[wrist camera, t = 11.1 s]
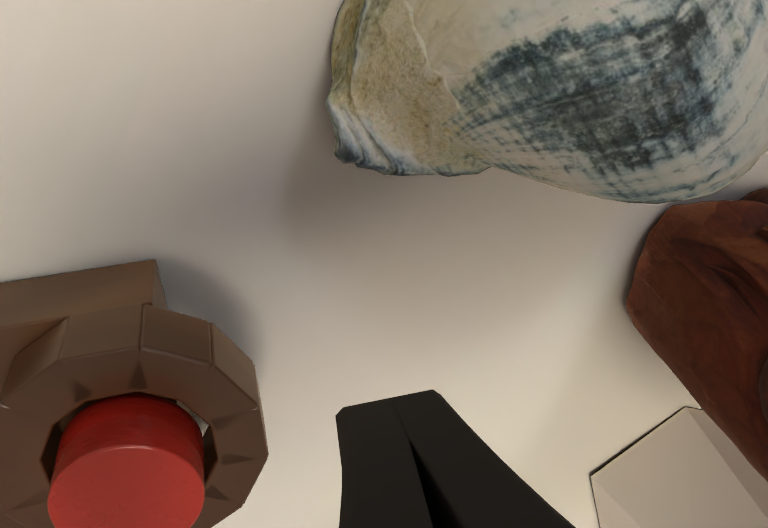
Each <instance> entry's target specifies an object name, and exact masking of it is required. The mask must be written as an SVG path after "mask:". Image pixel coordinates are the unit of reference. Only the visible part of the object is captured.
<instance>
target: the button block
mask: <svg viewBox="0 0 768 528" xmlns="http://www.w3.org/2000/svg"><path fill="white" fill-rule="evenodd" d="M125 394H145V395H152V396H157V397H160V398H164V399H166V400H169V401H171V402H173V403H175V404H177V405H179V406H180V407H182V408H183V409H185V410H186V411H187V412H188V413H189V414H190V415H191V416H192V417H193V413H192V411H193V412H194V413H195V414H196V415H198V416H199V417H200V418H201V419H202V420H203V421H205V422H206V423H207V424H208V425H209V426H208V428H207V430H206V432H205V434H204V436H203V449H204V482H205V500H204V504H203V508H202V510H201V513H200V515H199V516H198V518H197V520H196V521H195V523H194V524H193V525H192V526H191V527H190V528H211V527H213V526H214V525H216V524H217V523H219V522H220V521H222V520H223V519H225V518H226V517H227V516H229V515H230V514H232V513H233V512H235V511H236V510H238V509H239V508H241V507H242V505H243V504H244V503H245V501H246V499H247V497H248V495H249V493H250V491H251V489H252V487H253V485H254V484H255V482H256V480H257V478H258V476H259V474H260V472H261V470H262V468H263V466H264V464H265V462H266V460H267V457H268V455H269V454H268V446H267V439H266V432H265V425H264V418H263V411H262V405H261V399H260V394H259V388H258V383H257V377H256V371H255V366H254V364H253V362H252V360H251V359H250V358H248V357H247V356H246V355H245V354H244V353H243V352H242V351H241V350H240V349H239V348H238V347H237V346H236V345H235V344H234V343H233V342H232V341H231V340H230V339H229V338H228V337H227V336H226V335H225V334H223V333H222V332H221V331H220V330H219V329H218V328H217V327H216V326H215V325H214V324H213V323H209V322H208V321H206V320H202V319H198V318H195V317H191V316H187V315H184V314H180V313H176V312H173V311H169V310H167V306H166V302H165V298H164V294H163V289H162V285H161V281H160V277H159V273H158V269H157V265H156V261H155V260H147V261H140V262H134V263H127V264H121V265H115V266H108V267H102V268H95V269H89V270H82V271H76V272H70V273H63V274H57V275H50V276H44V277H38V278H31V279H25V280H18V281H12V282H6V283H0V528H55V527H54V525H53V523H52V521H51V519H50V516H49V513H48V507H47V500H48V493H49V488H50V484H51V479H52V475H53V470H54V465H55V461H56V456H57V451H58V447H59V442H60V439H61V435H62V433H63V431H64V429H65V428H66V426H67V425H68V423H69V422H70V421H71V420H72V419H73V418H74V417H75V416H76V415H77V414H78V413H79V412H81V411H82V410H83V409H85V408H86V407H88V406H90V405H91V404H93V403H96V402H98V401H100V400H103V399H106V398H109V397H113V396H118V395H125ZM193 418H194V417H193Z"/></svg>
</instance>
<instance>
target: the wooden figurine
mask: <svg viewBox="0 0 768 528" xmlns="http://www.w3.org/2000/svg"><path fill="white" fill-rule="evenodd" d="M626 307H627V310H628V313H629V314H630V316H631V319H632V322H633V324H634V326H635V327H636V329H637V330H638V331H639V332H640V334H641V335H642V336H643V337H644V339H645V340H646V341H647V342H648V343H649V345H650V346H651V347H652V349H653V350H654V351H655V352H656V353H657V355H658V356H659V357H660V358H661V359H662V360H663V361H664V362H665V363H666V364H667V365H668V367H669V368H670V369H671V370H672V372H673V373H674V374H675V375H676V376H677V378H678V379H679V380H680V381H681V382H682V384H683V385H684V386H685V387H686V389H687V390H688V391H689V392H690V394H691V395H692V396H693V397H694V399H695V400H696V401H697V402H698V404H699V405H700V406H701V408H702V409H703V410H704V411H705V413H706V414H707V415H708V416H709V417H710V419H712V420H713V421H714V423H715V424H716V425H717V426H718V427H719V428H720V429H721V430H722V431H723V432H724V433H725V434H726V435H727V437H728V438H729V439H730V440H731V441H732V442H733V443H734V444H735V446H736V447H737V448H738V449H739V451H740V452H741V453H742V454H743V456H744V457H745V458H746V459H747V461H748V462H749V463H750V464H751V465H752V466H753V468H754V469H755V470H756V471H757V472H758V473H759V474H760V475H761V476H762V477H763V478H764V479H765V480H766V481H767V482H768V189H761V190H757V191H754V192H751V193H749V194H748V195H747V196H745V197H744V198H743V200H742V201H726V200H723V201H703V202H696V203H692V204H679V205H674V206H671V207H670V208H669V209H668V210H667V211H666V212H665V213H664V215H663V216H662V217H661V219H660V220H659V222H658V223H657V224H656V225H655V227H654V228H653V229H652V230H651V231H650V232H649V234H648V236H647V239H646V242H645V245H644V248H643V251H642V254H641V256H640V258H639V260H638V262H637V265H636V267H635V272H634V278H633V283H632V286H631V290H630V293H629V295H628V297H627V302H626Z"/></svg>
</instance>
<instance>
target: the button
mask: <svg viewBox="0 0 768 528" xmlns="http://www.w3.org/2000/svg"><path fill="white" fill-rule="evenodd" d="M204 500H205V482H204V449H203V437H202V433H201V430H200V428H199V426H198V424H197V422H196V421H195V420H194V418H193V417H192V416H191V415H190V414H189V413H188V412H187V411H186V410H185V409H183V408H182V407H180V406H179V405H177V404H175V403H173V402H171V401H169V400H166V399H164V398H160V397H157V396H152V395H145V394H125V395H118V396H113V397H109V398H106V399H103V400H100V401H98V402H96V403H93V404H91V405H90V406H88V407H86V408H85V409H83V410H82V411H81V412H79V413H78V414H77V415H76V416H75V417H74V418H73V419H72V420H71V421H70V422H69V423H68V425H67V426H66V428H65V429H64V431H63V433H62V435H61V439H60V442H59V447H58V451H57V456H56V461H55V465H54V470H53V475H52V479H51V484H50V488H49V493H48V500H47V507H48V513H49V516H50V519H51V521H52V523H53V525H54V527H55V528H190V527H191V526H192V525H193V524H194V523H195V521H196V520H197V518H198V516H199V515H200V513H201V510H202V508H203V504H204Z"/></svg>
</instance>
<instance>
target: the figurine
mask: <svg viewBox="0 0 768 528" xmlns="http://www.w3.org/2000/svg"><path fill="white" fill-rule="evenodd" d="M591 482H592V487H593V492H594V497H595V503H596V508H597V513H598V518H599V523H600V528H768V482H767V481H766V480H765V479H764V478H763V477H762V476H761V475H760V474H759V473H758V472H757V471H756V470H755V469H754V468H753V466H752V465H751V464H750V463H749V462H748V461H747V459H746V458H745V457H744V456H743V454H742V453H741V452H740V451H739V449H738V448H737V447H736V446H735V444H734V443H733V442H732V441H731V440H730V439H729V438H728V437H727V435H726V434H725V433H724V432H723V431H722V430H721V429H720V428H719V427H718V426H717V425H716V424H715V423H714V421H713V420H712V419H710V417H709V416H708V415H707V414H706V413H705V411H704V410H699V409H693V408H687V407H685V408H683V409H682V410H681V411H679V412H678V413H677V414H675V415H674V416H673V417H671V418H670V419H668V420H667V421H666V422H664V423H663V424H662V425H660V426H659V427H658V428H656V429H655V430H653V431H652V432H651V433H649V434H648V435H647V436H645V437H644V438H643V439H641V440H640V441H639V442H637V443H636V444H634V445H633V446H632V447H630V448H629V449H628V450H626V451H625V452H624V453H622V454H621V455H620V456H618V457H617V458H615V459H614V460H613V461H611V462H610V463H609V464H607V465H606V466H605V467H603V468H602V469H601V470H599V471H598V472H596V473H595V474H594V475H592V476H591Z"/></svg>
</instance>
